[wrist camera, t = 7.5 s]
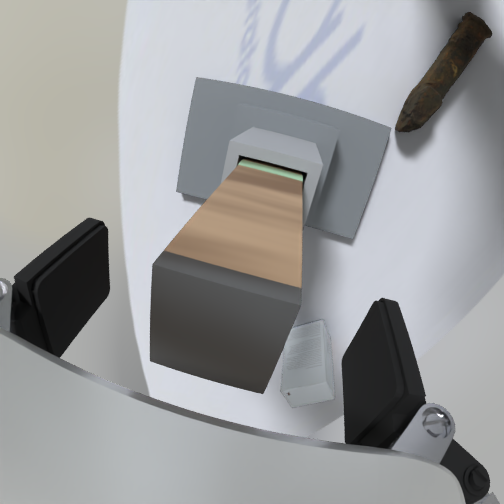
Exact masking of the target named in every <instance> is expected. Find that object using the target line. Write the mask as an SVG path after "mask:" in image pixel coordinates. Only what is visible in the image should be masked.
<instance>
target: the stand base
mask: <svg viewBox="0 0 504 504" xmlns="http://www.w3.org/2000/svg"><path fill="white" fill-rule="evenodd" d="M390 131H391V128H390V127H387V126H385V125H382V124H379V123H377V122H374V121H371V120H368V119H366V118H363V117H360V116H357V115H354V114H351V113H348V112H345V111H342V110H339V109H335V108H332V107H329V106H325V105H322V104H319V103H315V102H312V101H308V100H304V99H301V98H297V97H293V96H289V95H285V94H281V93H277V92H273V91H268V90H264V89H259V88H255V87H250V86H245V85H240V84H234V83H229V82H223V81H217V80H211V79H205V78H198V77H196V81H195V86H194V91H193V96H192V100H191V106H190V111H189V116H188V121H187V127H186V133H185V138H184V144H183V150H182V156H181V163H180V169H179V176H178V183H177V190H176V192H179V193H183V194H187V195H191V196H195V197H199V198H203V199H208V198H209V197H210V196H211V194H212V193H213V192H214V191H215V190H216V189H217V188H218V187H219V186H220V184H221V183H222V182H223V181H224V180H225V179H226V178H227V177H228V176H229V174H230V173H231V172H232V171H233V170H234V169H235V168H236V167H237V166H238V164H239V163H240V161H241V160H243V159H244V158H245V157H250V158H254V159H258V160H262V161H266V162H270V163H273V164H277V165H281V166H285V167H288V168H292V169H296V170H299V171H302V175H303V182H302V231H303V228H304V225H306V226H309V227H313V228H316V229H320V230H323V231H327V232H330V233H334V234H337V235H340V236H344V237H347V238H351V239H353V238H354V235H355V232H356V230H357V227H358V225H359V222H360V219H361V217H362V214H363V211H364V209H365V206H366V203H367V200H368V197H369V195H370V192H371V189H372V186H373V183H374V180H375V177H376V175H377V172H378V169H379V166H380V163H381V160H382V156H383V153H384V150H385V147H386V144H387V141H388V138H389V134H390Z"/></svg>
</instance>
